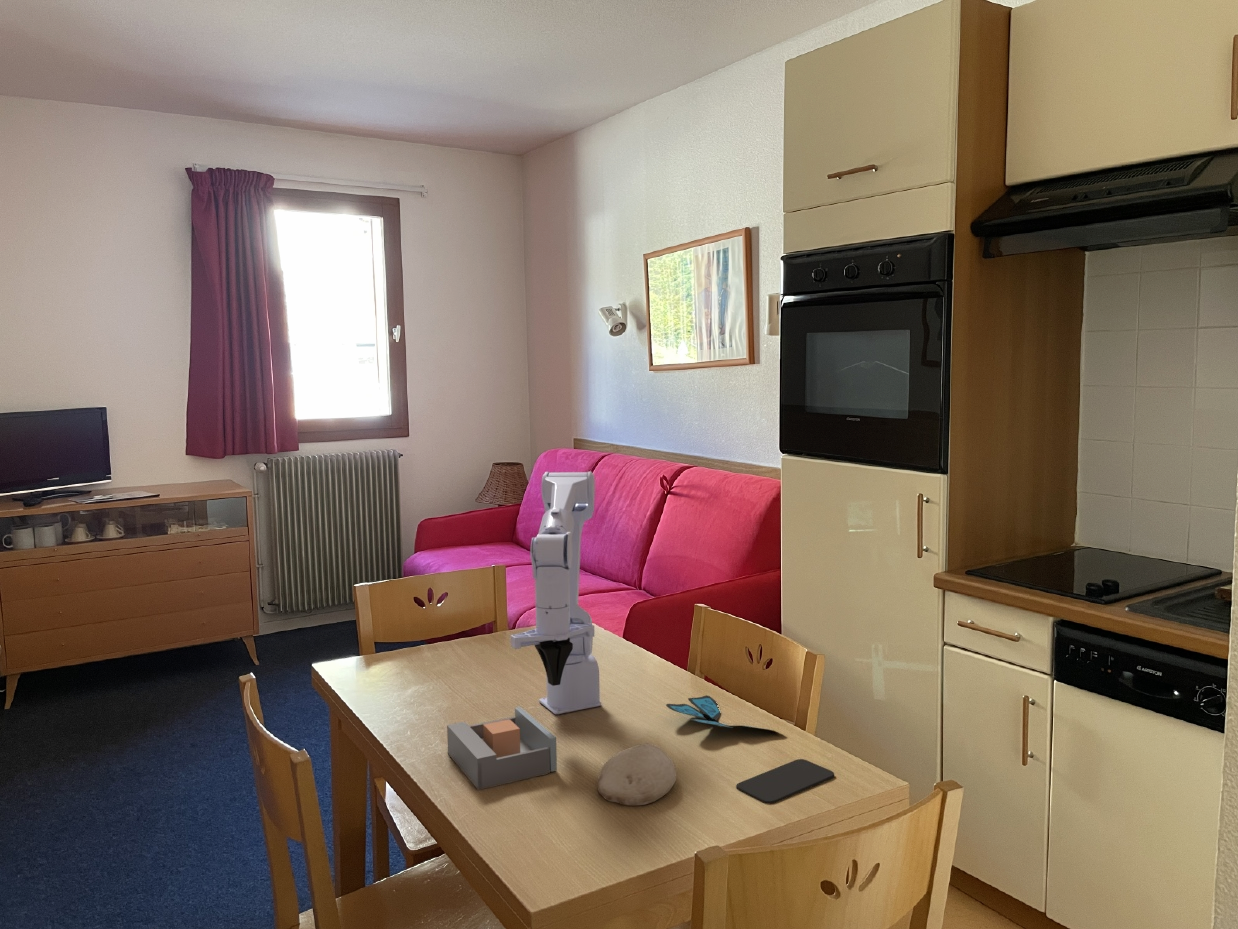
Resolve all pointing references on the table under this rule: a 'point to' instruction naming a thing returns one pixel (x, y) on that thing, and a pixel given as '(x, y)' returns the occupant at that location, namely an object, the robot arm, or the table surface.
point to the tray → (535, 736)
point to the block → (502, 737)
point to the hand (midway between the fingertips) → (554, 683)
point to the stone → (637, 775)
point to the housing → (492, 757)
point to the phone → (785, 781)
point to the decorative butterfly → (704, 705)
